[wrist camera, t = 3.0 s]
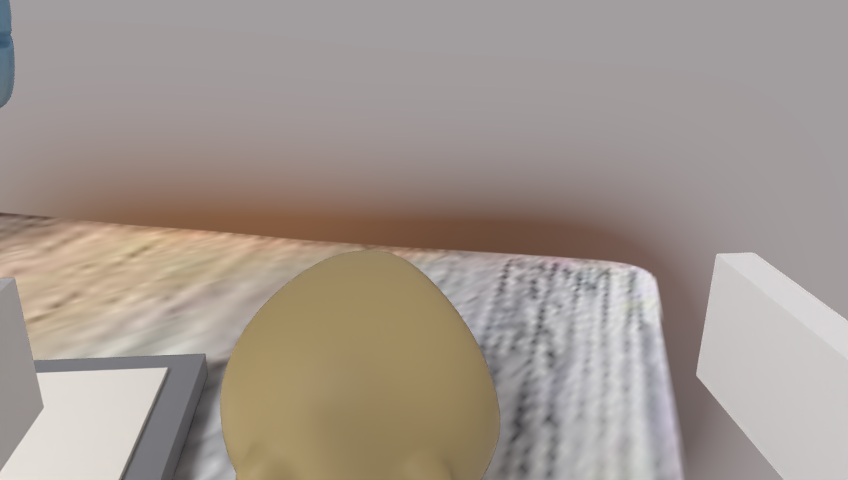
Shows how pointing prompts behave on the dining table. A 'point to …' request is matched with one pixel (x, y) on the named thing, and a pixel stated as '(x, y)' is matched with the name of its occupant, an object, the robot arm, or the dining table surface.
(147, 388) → the breaker panel
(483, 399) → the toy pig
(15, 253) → the dining table surface
